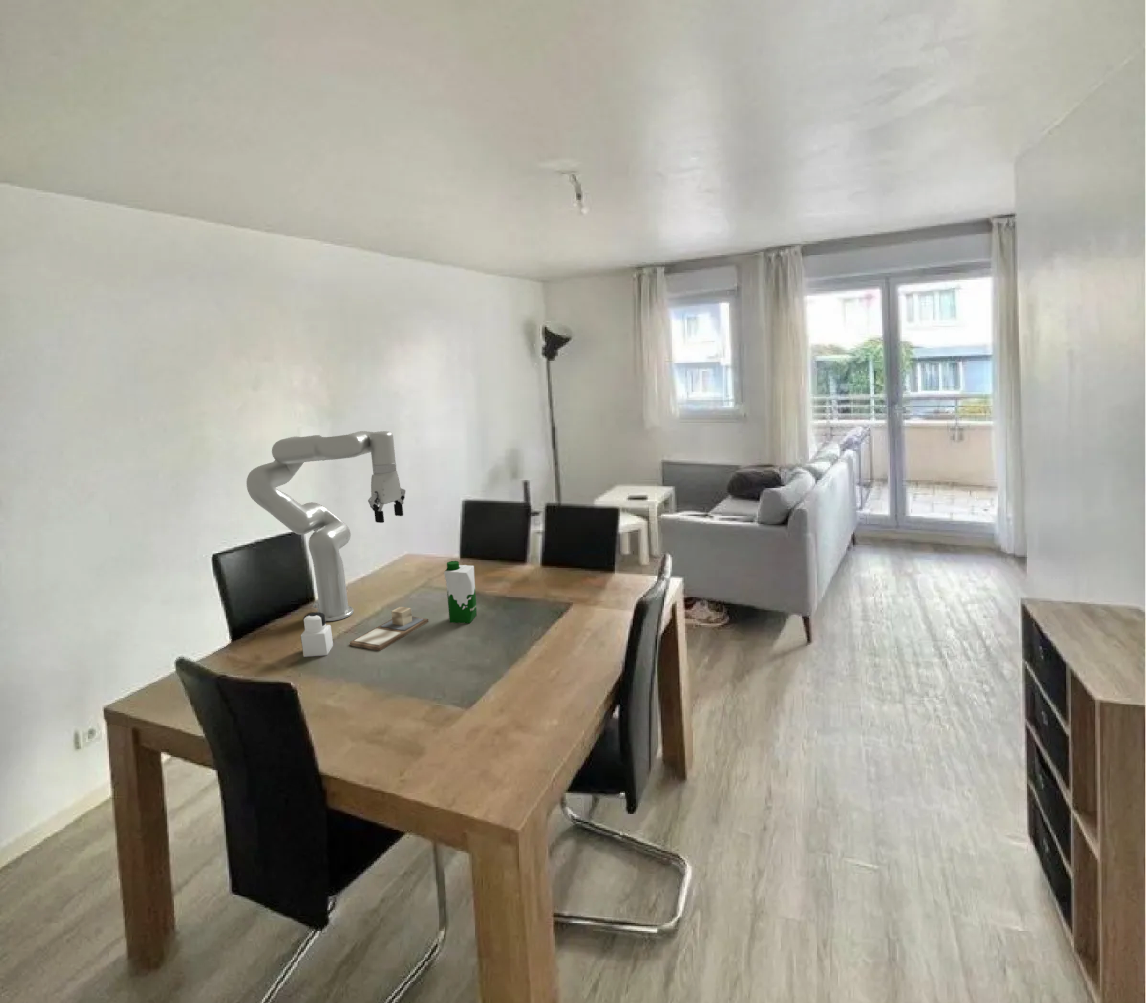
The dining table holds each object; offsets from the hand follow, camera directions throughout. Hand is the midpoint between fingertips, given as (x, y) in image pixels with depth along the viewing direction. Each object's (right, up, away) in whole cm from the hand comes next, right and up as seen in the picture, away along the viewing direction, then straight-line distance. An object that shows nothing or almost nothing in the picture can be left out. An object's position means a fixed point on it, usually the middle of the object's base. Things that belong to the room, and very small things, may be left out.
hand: (389, 519), depth 222 cm
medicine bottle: (-16, -40, -20) cm, 48 cm away
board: (+3, -37, -9) cm, 38 cm away
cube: (+5, -34, -4) cm, 35 cm away
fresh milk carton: (+25, -34, +1) cm, 42 cm away
